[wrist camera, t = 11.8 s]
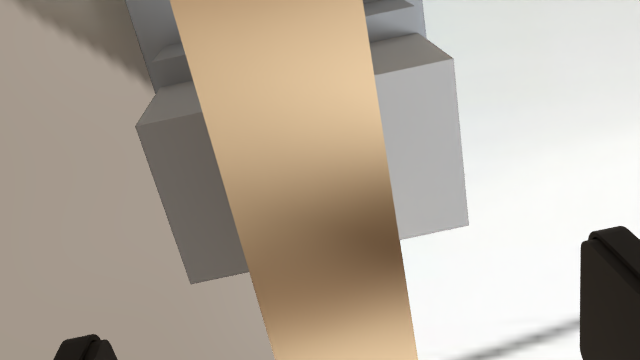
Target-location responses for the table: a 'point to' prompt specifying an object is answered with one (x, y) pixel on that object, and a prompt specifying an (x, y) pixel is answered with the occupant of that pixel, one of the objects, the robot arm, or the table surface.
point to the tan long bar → (304, 171)
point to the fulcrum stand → (396, 117)
